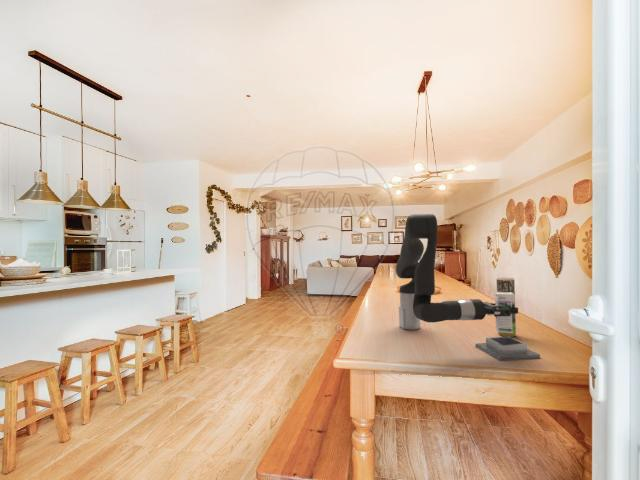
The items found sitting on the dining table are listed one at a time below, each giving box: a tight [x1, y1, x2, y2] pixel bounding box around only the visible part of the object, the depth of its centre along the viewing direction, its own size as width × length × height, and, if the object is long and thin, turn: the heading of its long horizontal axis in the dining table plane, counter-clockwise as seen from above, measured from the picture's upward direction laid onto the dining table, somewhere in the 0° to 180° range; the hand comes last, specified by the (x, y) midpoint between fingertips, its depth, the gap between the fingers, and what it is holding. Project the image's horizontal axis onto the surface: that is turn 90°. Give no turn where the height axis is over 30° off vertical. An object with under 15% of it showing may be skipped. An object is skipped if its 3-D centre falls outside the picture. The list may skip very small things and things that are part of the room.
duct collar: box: [475, 336, 541, 362], centre depth 120 cm, size 15×15×4 cm
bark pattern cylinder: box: [495, 276, 517, 338], centre depth 140 cm, size 7×7×25 cm
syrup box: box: [494, 291, 516, 334], centre depth 120 cm, size 6×6×14 cm
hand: (509, 308), depth 120 cm, fingers closed on syrup box, 7 cm apart
